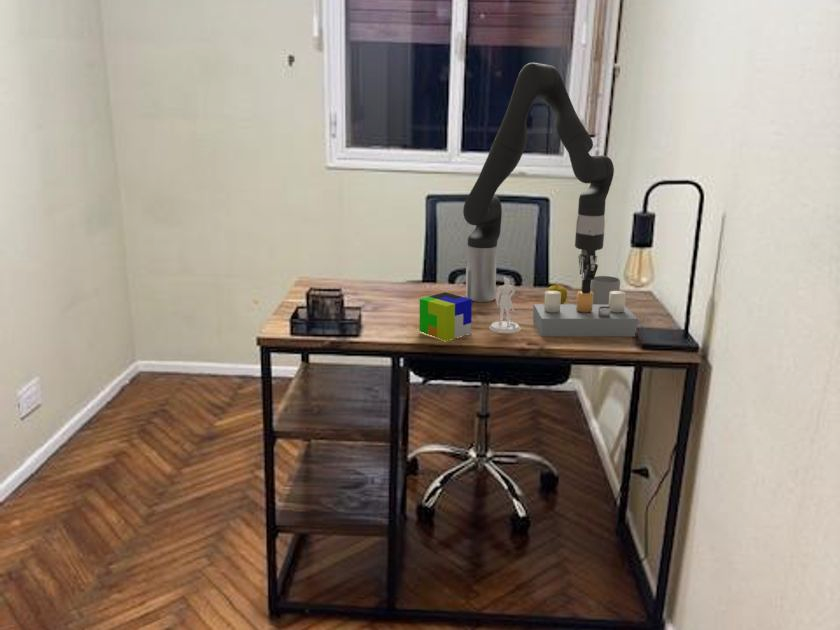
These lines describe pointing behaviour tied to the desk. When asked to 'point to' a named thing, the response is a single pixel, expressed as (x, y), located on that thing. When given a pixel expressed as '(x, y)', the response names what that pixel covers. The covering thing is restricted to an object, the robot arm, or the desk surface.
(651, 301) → the desk surface
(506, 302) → the figurine
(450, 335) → the puzzle toy
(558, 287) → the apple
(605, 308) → the dial
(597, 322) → the panel
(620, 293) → the knob right
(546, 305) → the knob left
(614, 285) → the cup
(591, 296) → the knob middle
